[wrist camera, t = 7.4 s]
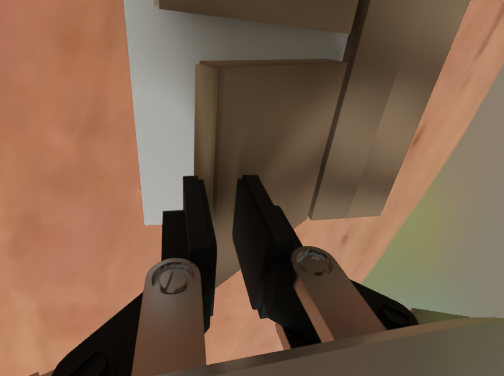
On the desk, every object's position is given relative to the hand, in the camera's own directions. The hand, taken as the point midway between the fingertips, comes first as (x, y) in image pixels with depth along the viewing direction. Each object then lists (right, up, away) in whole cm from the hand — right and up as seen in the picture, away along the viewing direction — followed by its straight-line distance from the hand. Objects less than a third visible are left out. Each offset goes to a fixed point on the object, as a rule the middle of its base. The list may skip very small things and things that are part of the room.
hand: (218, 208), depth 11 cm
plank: (+2, +2, +4) cm, 5 cm away
